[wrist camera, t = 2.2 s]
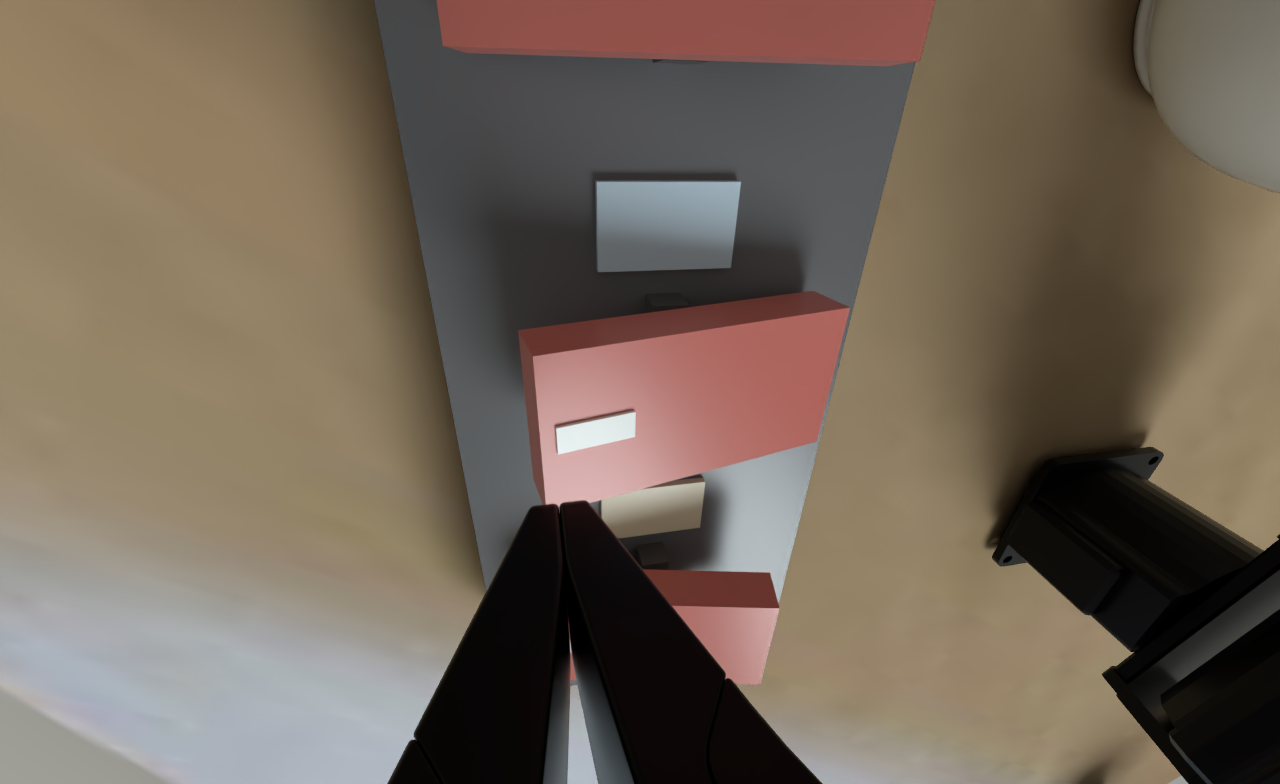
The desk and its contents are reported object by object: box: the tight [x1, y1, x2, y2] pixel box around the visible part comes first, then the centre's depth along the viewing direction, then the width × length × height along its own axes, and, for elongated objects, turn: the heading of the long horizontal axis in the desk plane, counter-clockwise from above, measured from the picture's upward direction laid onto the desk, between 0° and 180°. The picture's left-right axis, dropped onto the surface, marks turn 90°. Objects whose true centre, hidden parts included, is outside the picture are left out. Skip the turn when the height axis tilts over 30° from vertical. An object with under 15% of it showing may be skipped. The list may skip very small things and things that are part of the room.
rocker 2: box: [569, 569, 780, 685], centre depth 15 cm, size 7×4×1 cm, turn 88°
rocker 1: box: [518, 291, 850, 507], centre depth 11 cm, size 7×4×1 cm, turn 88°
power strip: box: [374, 0, 915, 686], centre depth 15 cm, size 10×32×4 cm, turn 178°
